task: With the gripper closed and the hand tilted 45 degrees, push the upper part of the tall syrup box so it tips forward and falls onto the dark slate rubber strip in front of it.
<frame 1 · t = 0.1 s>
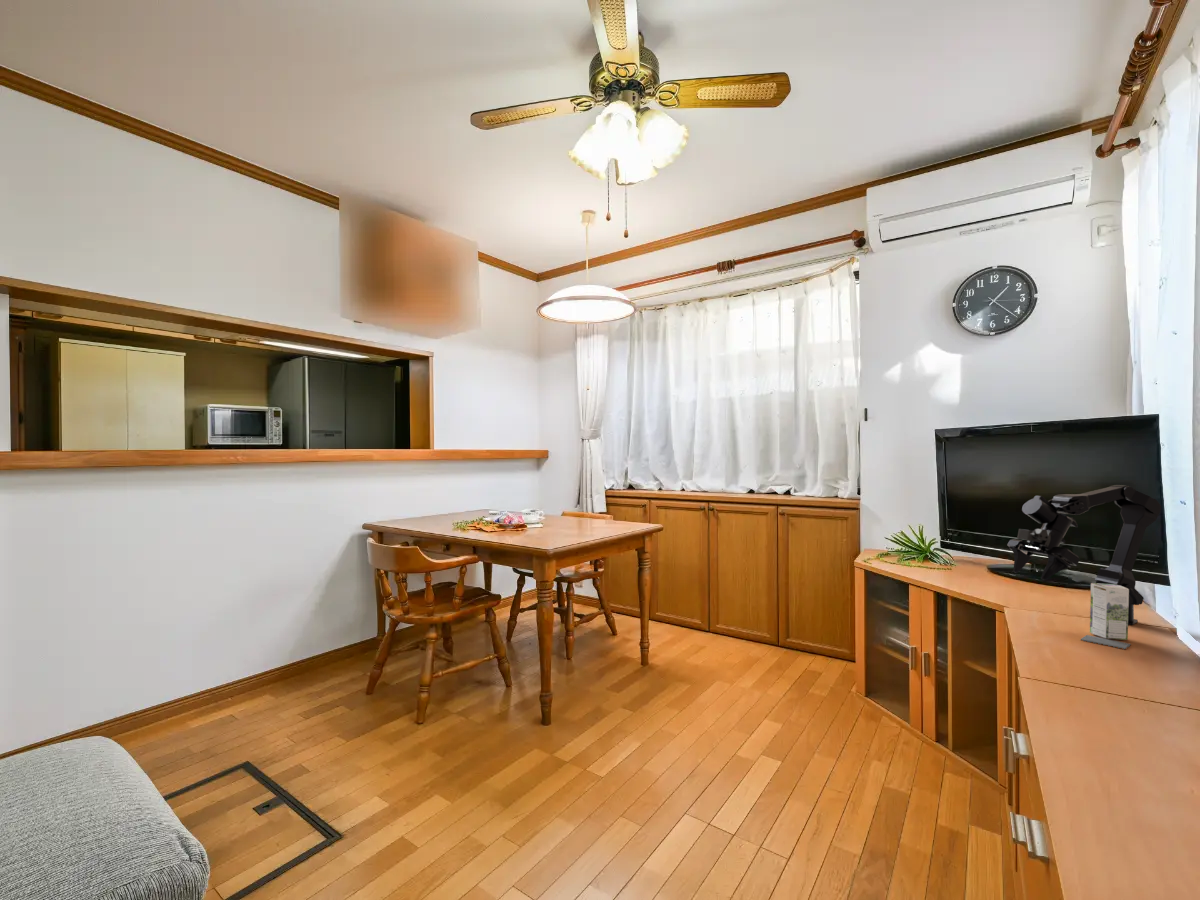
hand: (1028, 575, 164), 15 cm above the cabinet top, tool tilted 35°, fingers open, 9 cm apart
syrup box: (1108, 637, 152), on the cabinet top, touching slate mat
slate mat: (1105, 642, 148), on the cabinet top
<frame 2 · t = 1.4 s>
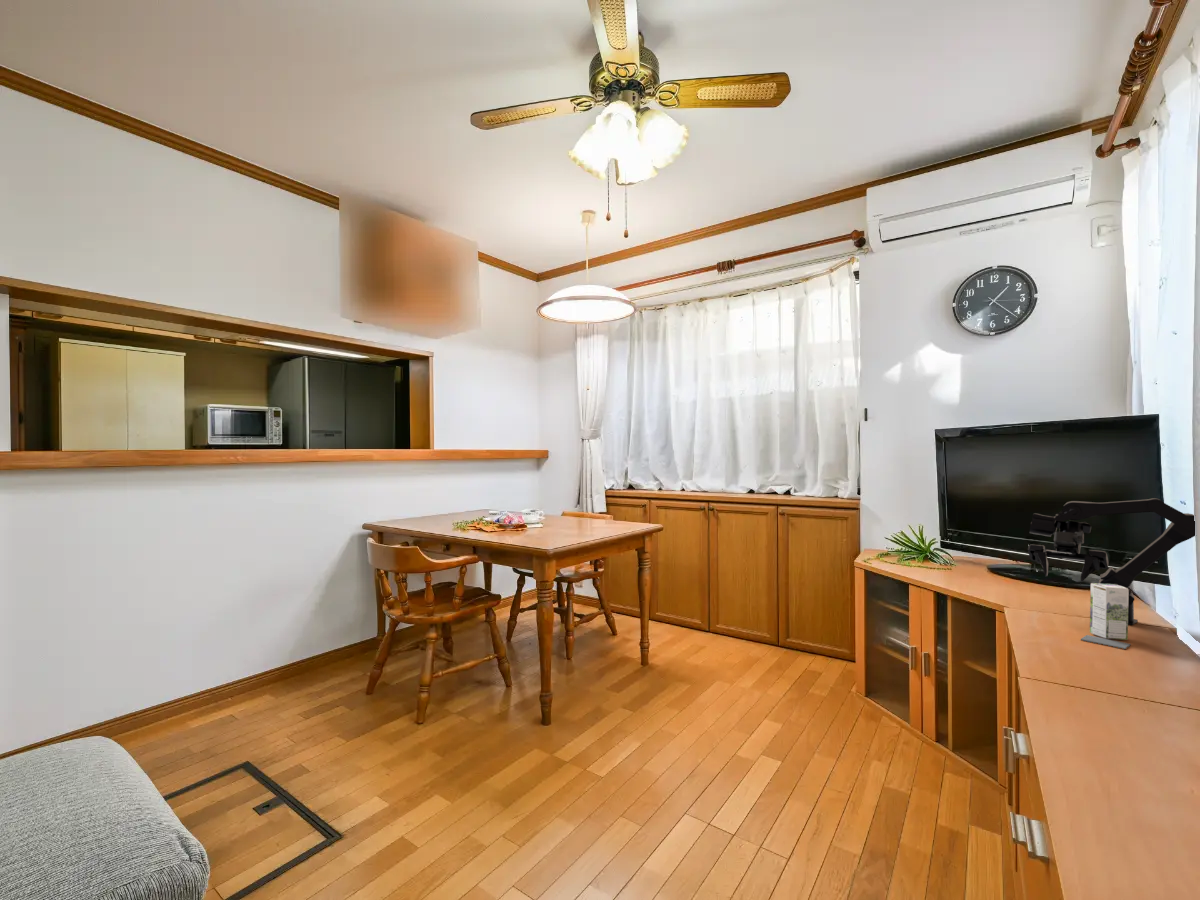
hand: (1063, 578, 166), 14 cm above the cabinet top, tool tilted 45°, fingers open, 8 cm apart
nothing on the cabinet top moved.
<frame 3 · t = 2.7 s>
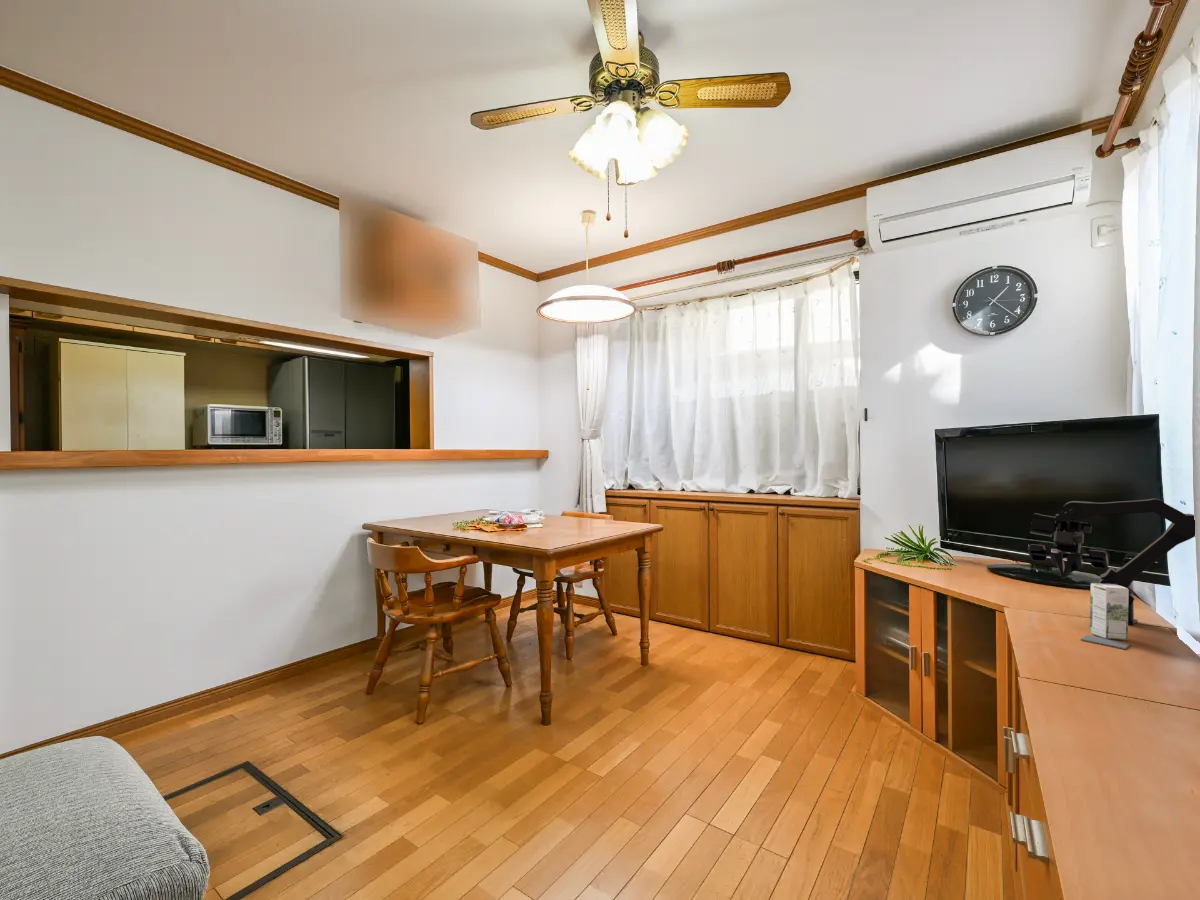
hand: (1063, 577, 166), 14 cm above the cabinet top, tool tilted 45°, fingers closed
nothing on the cabinet top moved.
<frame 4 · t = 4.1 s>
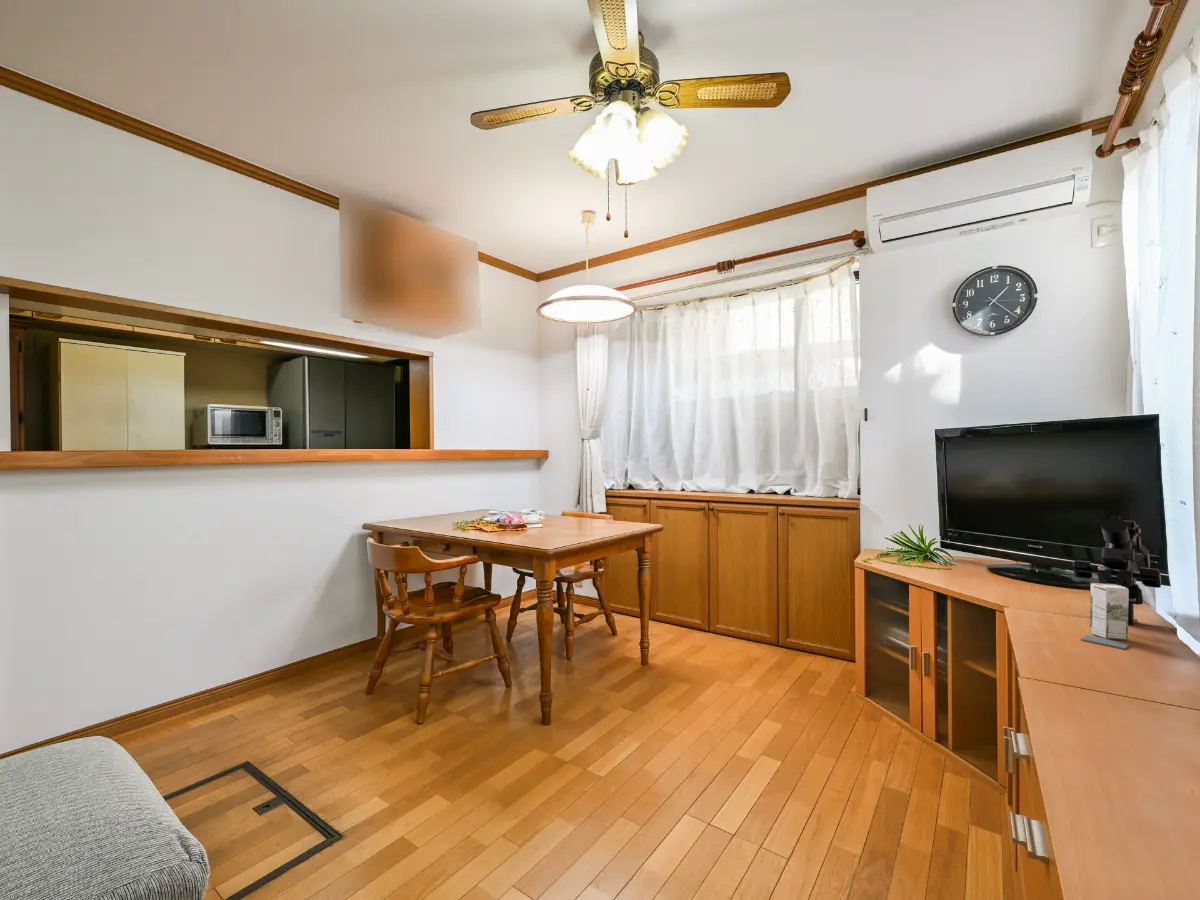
hand: (1112, 597, 157), 10 cm above the cabinet top, tool tilted 45°, fingers closed
nothing on the cabinet top moved.
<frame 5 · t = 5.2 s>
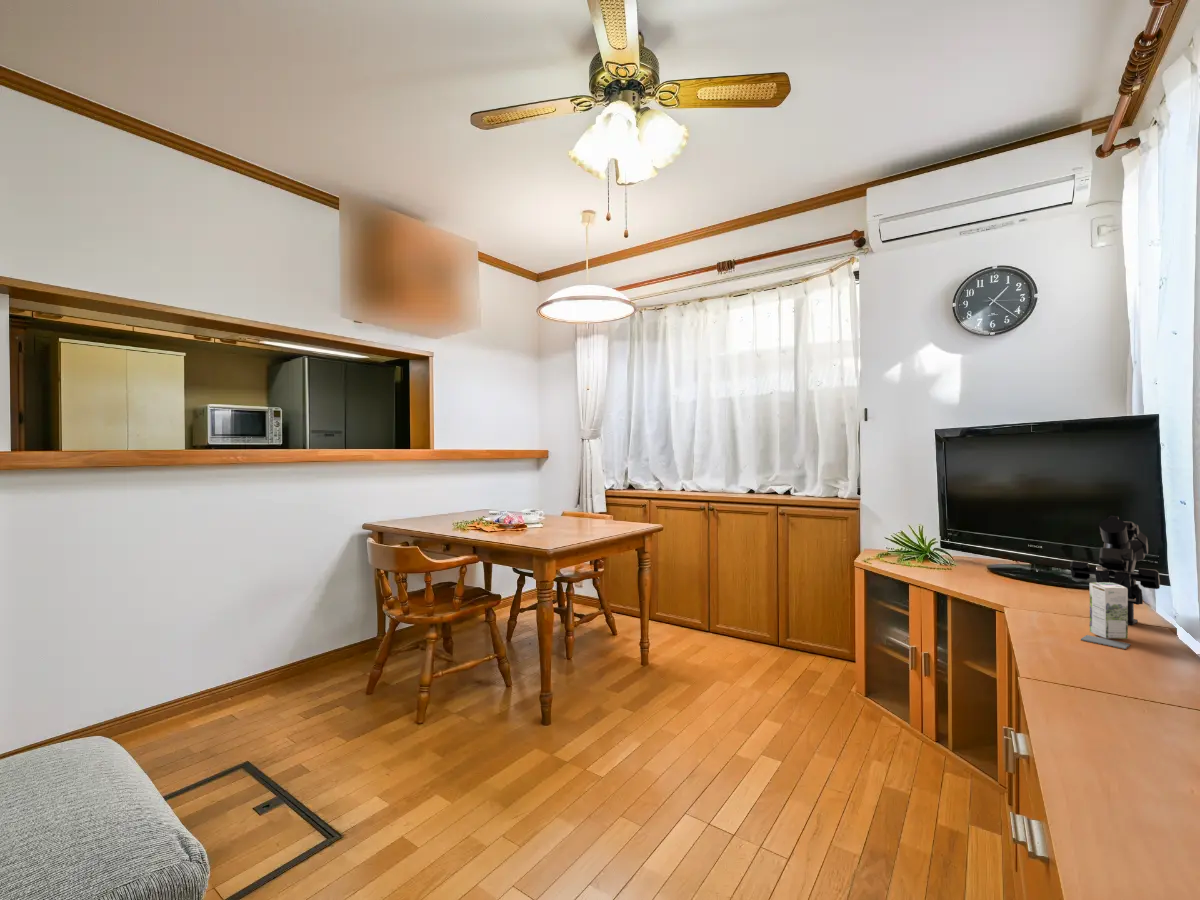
hand: (1110, 597, 154), 10 cm above the cabinet top, tool tilted 45°, fingers closed, pressing on syrup box
syrup box: (1108, 636, 152), on the cabinet top, touching gripper, slate mat
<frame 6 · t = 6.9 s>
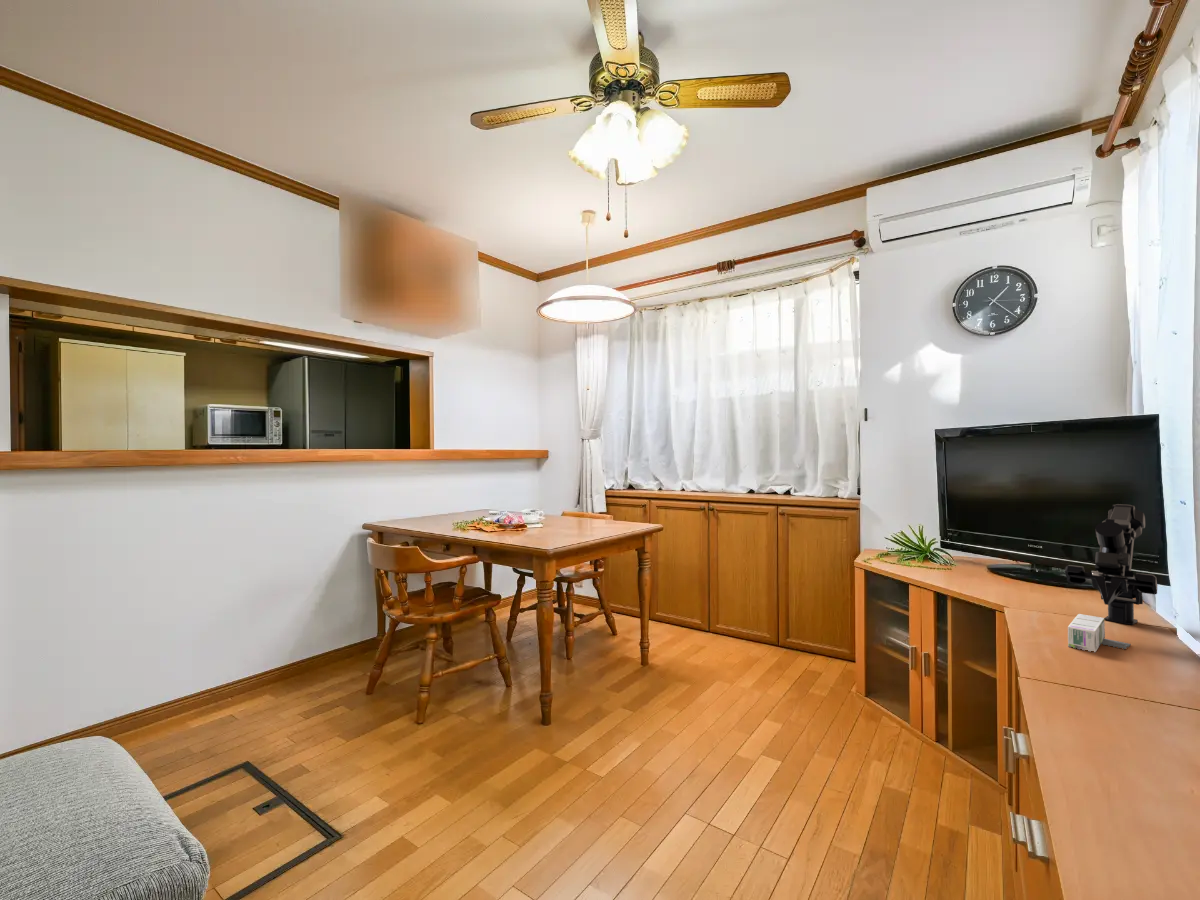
hand: (1106, 603, 150), 10 cm above the cabinet top, tool tilted 45°, fingers closed
syrup box: (1092, 625, 152), point 4 cm above the cabinet top, touching slate mat
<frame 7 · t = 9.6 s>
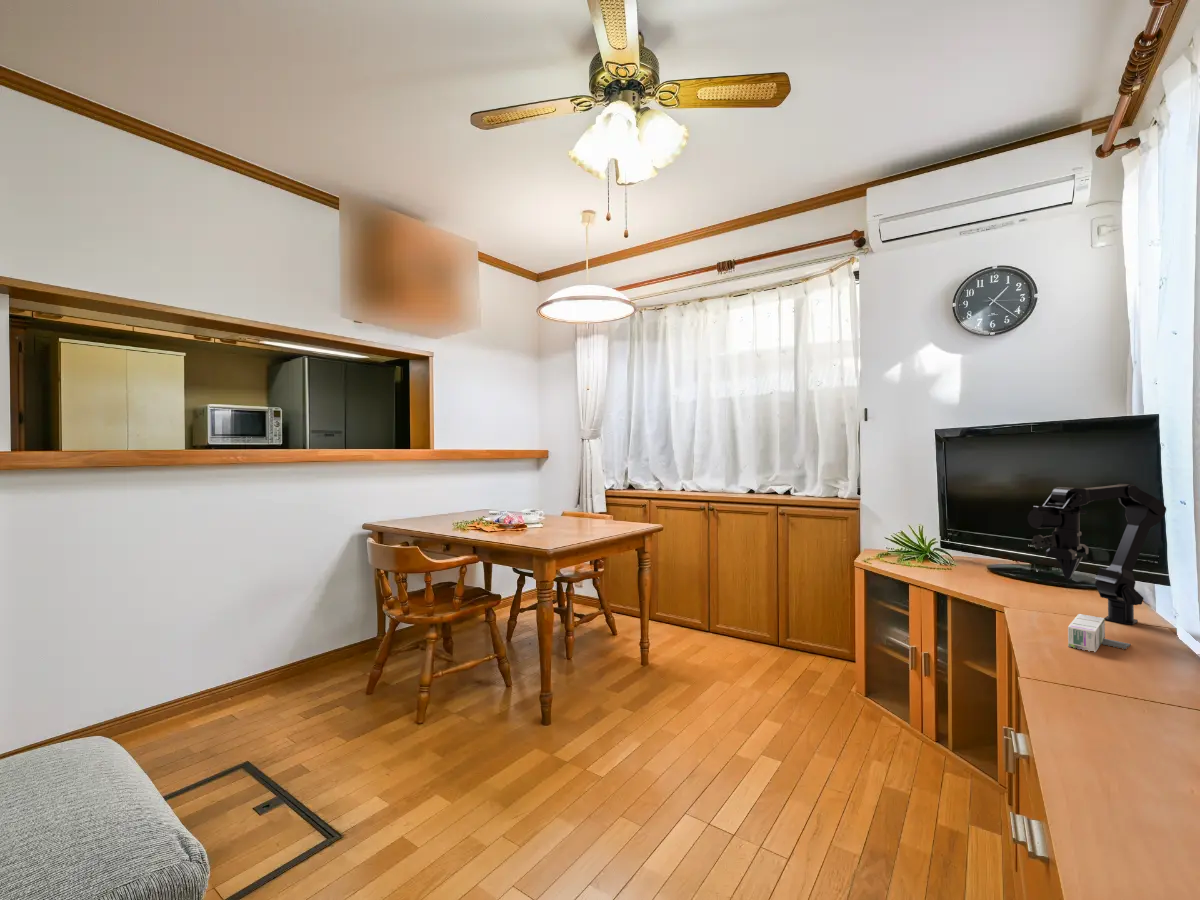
hand: (1067, 578, 166), 13 cm above the cabinet top, tool pointing down, fingers closed
nothing on the cabinet top moved.
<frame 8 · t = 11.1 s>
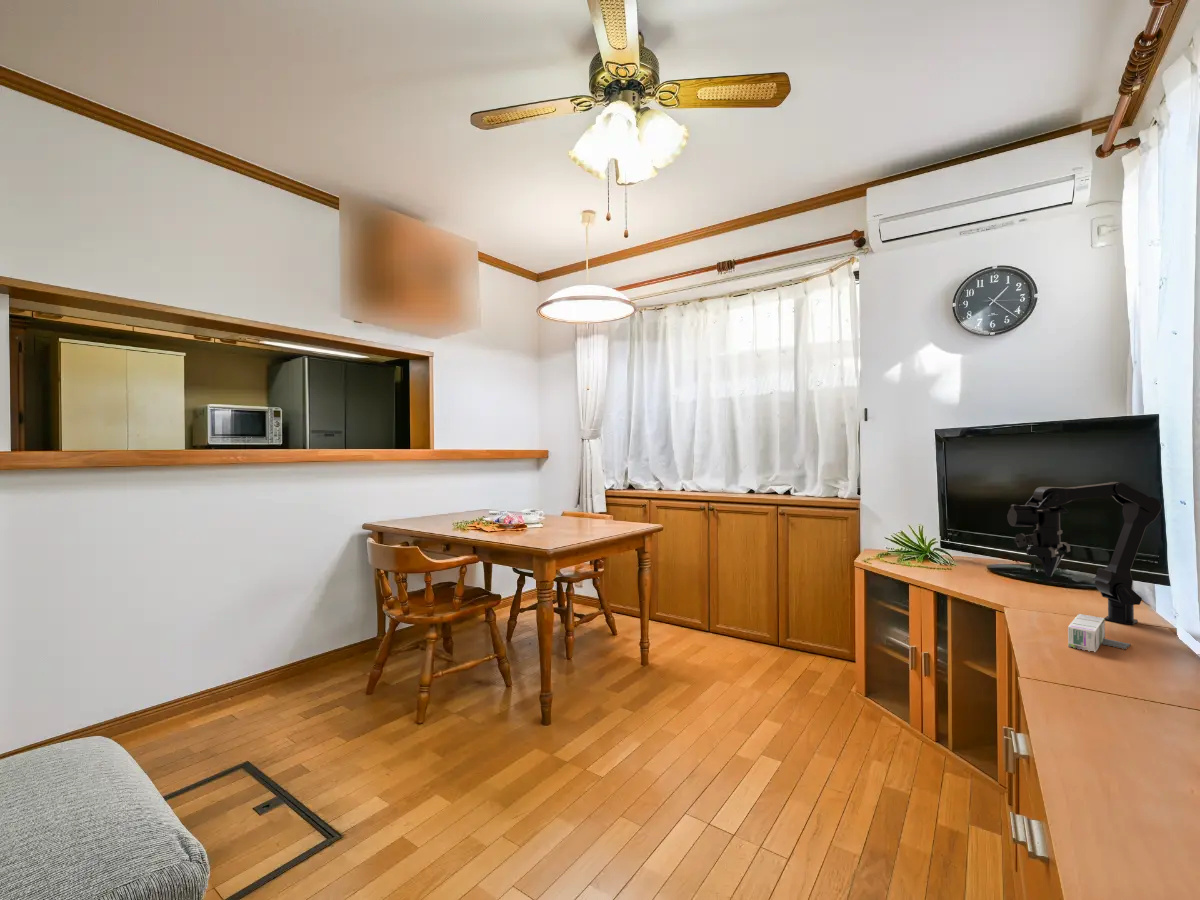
hand: (1049, 576, 171), 13 cm above the cabinet top, tool pointing down, fingers closed
nothing on the cabinet top moved.
at the end: syrup box tilted 93°; syrup box inside the target area (7.4 cm from its centre), point 3.5 cm above the cabinet top; syrup box moved 5.9 cm from its start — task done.
